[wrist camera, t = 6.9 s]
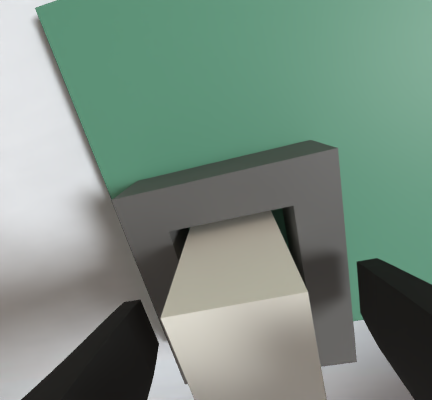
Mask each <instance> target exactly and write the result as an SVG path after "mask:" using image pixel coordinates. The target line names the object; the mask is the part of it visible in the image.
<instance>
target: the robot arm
mask: <svg viewBox="0 0 432 400" xmlns="http://www.w3.org/2000/svg"><path fill="white" fill-rule="evenodd" d="M357 275H358V288H359V302H360V313H361V315H362V317H363V319H364V321H365V323H366V325H367V327H368V329H369V331H370V332H371V334H372V336H373V338H374V340H375V341H376V343H377V345H378V347H379V348H380V350H381V351H382V353H383V354H384V356H385V357H386V359H387V360H388V362H389V363H390V364H391V366H392V367H393V369H394V370H395V372H396V373H397V375H398V376H399V378H400V379H401V381H402V382H403V383H404V385H405V386H406V388H407V389H408V391H409V392H410V394H411V395H412V397H413V398H414V399H415V400H432V284H430V283H428V282H426V281H424V280H422V279H420V278H417V277H415V276H413V275H411V274H409V273H407V272H405V271H403V270H401V269H399V268H397V267H395V266H393V265H391V264H389V263H387V262H385V261H383V260H380V259H378V258H374V259H369V260H363V261H357ZM158 346H159V343H158V341H157V338H156V336H155V333H154V331H153V329H152V326H151V324H150V321H149V319H148V317H147V314H146V312H145V309H144V307H143V305H142V302H141V300H135V301H129V302H124V303H123V304H122V305H121V306H119V307H118V308H117V309H116V310H115V311H114V312H113V313H112V314H111V315H110V316H109V317H108V318H107V319H106V320H105V321H104V322H103V323H101V324H100V325H99V326H98V327H97V328H96V329H95V330H94V331H93V332H92V333H91V334H90V335H89V336H88V337H87V338H86V339H85V340H84V341H83V342H82V343H81V344H80V345H79V346H78V347H77V348H76V349H75V350H74V351H73V352H72V353H71V354H70V355H69V356H68V357H67V358H66V359H65V360H64V361H63V362H62V363H60V364H59V365H58V366H57V367H56V368H55V369H54V370H53V371H52V372H51V373H50V374H49V375H48V376H46V377H45V378H44V379H43V380H42V381H41V382H40V383H39V384H38V385H37V386H36V387H35V388H34V389H32V390H31V391H30V392H29V393H28V394H27V395H26V396H25V397H24V398H23V399H21V400H147V398H148V394H149V391H150V387H151V384H152V380H153V376H154V370H155V365H156V359H157V352H158Z"/></svg>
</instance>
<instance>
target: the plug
mask: <svg viewBox="0 0 432 400" xmlns="http://www.w3.org/2000/svg"><path fill="white" fill-rule="evenodd" d="M161 321H162V323H163V325H164V328H165V330H166V333H167V335H168V337H169V340H170V342H171V345H172V347H173V349H174V352H175V354H176V356H177V359H178V361H179V364H180V366H181V368H182V371H183V373H184V376H185V378H186V380H187V383H188V385H189V388H190V390H191V392H192V395H193V397H194V400H327V399H326V393H325V388H324V382H323V376H322V370H321V365H320V359H319V353H318V347H317V341H316V336H315V330H314V324H313V318H312V312H311V307H310V301H309V295H308V291H307V289H306V287H305V284H304V282H303V280H302V278H301V276H300V273H299V271H298V269H297V267H296V265H295V262H294V260H293V258H292V256H291V254H290V252H289V249H288V247H287V245H286V243H285V241H284V238H283V236H282V234H281V232H280V230H279V227H278V225H277V223H276V221H275V219H274V216H273V214H272V212H271V210H270V211H265V212H260V213H256V214H251V215H246V216H241V217H236V218H232V219H227V220H222V221H217V222H212V223H208V224H203V225H198V226H193V227H190V230H189V233H188V236H187V239H186V242H185V245H184V248H183V251H182V254H181V257H180V260H179V263H178V266H177V269H176V272H175V275H174V279H173V282H172V285H171V288H170V291H169V294H168V297H167V300H166V303H165V306H164V309H163V312H162V315H161Z"/></svg>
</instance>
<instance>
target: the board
mask: <svg viewBox="0 0 432 400" xmlns="http://www.w3.org/2000/svg"><path fill="white" fill-rule="evenodd" d="M35 9H36V12H37V14H38V17H39V19H40V22H41V24H42V27H43V29H44V32H45V34H46V37H47V39H48V42H49V44H50V47H51V49H52V52H53V54H54V57H55V59H56V62H57V64H58V67H59V69H60V72H61V74H62V77H63V79H64V82H65V84H66V87H67V89H68V92H69V94H70V97H71V99H72V102H73V104H74V107H75V109H76V112H77V114H78V117H79V119H80V122H81V124H82V127H83V129H84V132H85V134H86V137H87V139H88V142H89V144H90V147H91V149H92V152H93V154H94V157H95V159H96V162H97V164H98V167H99V169H100V172H101V174H102V177H103V179H104V182H105V184H106V187H107V189H108V192H109V194H110V197H111V199H112V200H111V201H112V203H113V206H114V208H115V211H116V213H117V216H118V218H119V221H120V223H121V226H122V228H123V231H124V233H125V236H126V238H127V241H128V243H129V246H130V248H131V251H132V253H133V256H134V258H135V261H136V263H137V266H138V268H139V271H140V273H141V276H142V278H143V281H144V283H145V286H146V288H147V291H148V293H149V296H150V298H151V301H152V303H153V306H154V308H155V311H156V313H157V315H158V318H159V320H160V323H161V325H162V328H163V330H164V333H165V335H166V338H167V340H168V343H169V345H170V348H171V350H172V353H173V355H174V358H175V360H176V363H177V365H178V368H179V370H180V373H181V375H182V378H183V380H184V383H185V384H188V383H187V380H186V378H185V376H184V373H183V371H182V368H181V366H180V364H179V361H178V359H177V356H176V354H175V352H174V349H173V347H172V345H171V342H170V340H169V337H168V335H167V333H166V330H165V328H164V325H163V323H162V321H161V315H162V312H163V309H164V306H165V303H166V300H167V297H168V294H169V291H170V288H171V285H172V282H173V279H174V275H175V272H176V269H177V266H178V263H179V260H180V257H181V254H182V251H183V248H184V245H185V242H186V239H187V236H188V233H189V230H190V227H193V226H198V225H203V224H208V223H212V222H217V221H222V220H227V219H232V218H236V217H241V216H246V215H251V214H256V213H260V212H265V211H270V210H271V212H272V214H273V216H274V219H275V221H276V223H277V225H278V227H279V230H280V232H281V234H282V236H283V238H284V241H285V243H286V245H287V247H288V249H289V252H290V254H291V256H292V258H293V260H294V262H295V265H296V267H297V269H298V271H299V273H300V276H301V278H302V280H303V282H304V284H305V287H306V289H307V291H308V295H309V301H310V307H311V312H312V318H313V324H314V330H315V336H316V341H317V347H318V353H319V359H320V365H321V366H329V365H337V364H344V363H352V362H357V360H356V349H355V337H354V326H353V321H358V320H364V319H363V317H362V315H361V313H360V302H359V288H358V275H357V261H363V260H369V259H374V258H378V259H380V260H383V261H385V262H387V263H389V264H391V265H393V266H395V267H397V268H399V269H401V270H403V271H405V272H407V273H409V274H411V275H413V276H415V277H417V278H420V279H422V280H424V281H426V282H428V283H430V284H432V0H57V1H54V2H51V3H48V4H45V5H42V6H39V7H37V8H35Z"/></svg>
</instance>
